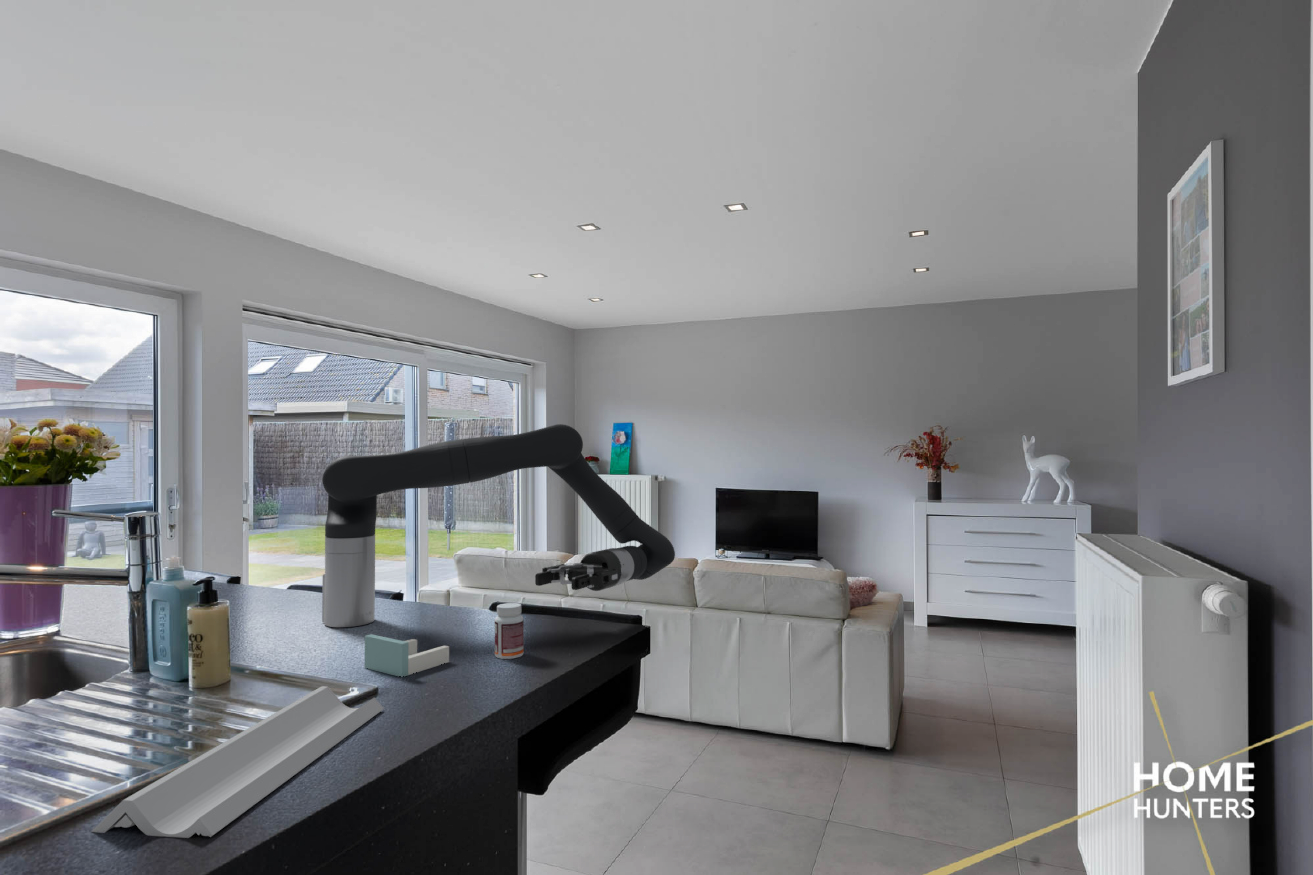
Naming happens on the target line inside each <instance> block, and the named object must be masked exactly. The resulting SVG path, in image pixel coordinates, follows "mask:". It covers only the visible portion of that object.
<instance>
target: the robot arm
mask: <svg viewBox="0 0 1313 875" xmlns="http://www.w3.org/2000/svg"><path fill="white" fill-rule="evenodd" d="M583 442H584V441H583V438H582V436H581V434H580V433H579V431H578V430H577V429H575V428H573V427H572V426H570V425H568V424H563V423H561V424H560V423H559V424H558V423H557V424H553V425H550V426H545V427H542V428H538V429H534V430H530V431H526V432H522V433H517V434H516V433H515V434H510V435H508V434H507V435H489V436H478V437H469V438H467V437H466V438H461V439H454V440H453V439H452V440H447V441H441V442H437V443H432V444H428V445H424V446H419V447H416V448H413V449H409V450H405V451H401V452H397V453H389V454H375V455H354V454H353V455H352V454H351V455H350V454H349V455H343V456H340V457H338V458H335V459H333V461H330V463H329V464H328V465H327V466H326V468H325V469H324V471H323V473H322V474H323V476H322V482H321V483H322V485H323V488H324V491H325V492H326V494H327V496H328V497H327V514H326V520H325V524H324V525H325V526H324V530H325V531H324V536H325V537H324V573H323V575H322V584H321V588H322V594H321V595H322V600H321V602H322V604H321V606H322V607H321V608H322V610H321V617H322V618H321V621H322V623H324V626H326V627H332V628H351V627H357V626H358V627H360V626H364V625H367V624H368V625H369V624H371V623H373V622H374V621H375V616H376V614H375V613H376V612H375V609H376V608H375V607H376V606H375V604H376V602H375V601H376V596H375V595H376V524H377V515H378V514H377V513H378V510H377V506H378V503H377V502H378V499H377V498H378V496H379V495H382V494H387V493H390V492H395V491H396V492H397V491H401V490H410V489H412V490H414V489H430V488H431V489H432V488H442V487H452V486H453V487H454V486H459V485H464V484H471V483H475V482H480V481H485V480H488V479H491V478H494V477H498V476H501V475H504V474H507V473H510V472H514V471H519V470H525V469H532V468H542V467H543V468H544V467H545V468H547V467H548V468H549V469H550V470H551V471H552V472H553V473H555V474H556V475H557V476H558V477H560V478H561V479H562V481H564V482H565V483H566V484H567V485H568V486H569V487H570V488H571V489H572V490H573V491H574V492H575V493H576V494H577V496H579V498H581V499H582V501H583V502H584V503H585V505H587V507H588V508H589V510H590V511H591V512H592V513H593V515H594V516H595V517H596V518H597V519H598V521H600V523H601V525H603V527H604V528H605V529H606V530H607V532H608V533H609V534H610V535H611V536H612V537H613V538H614V539H615V540H616V542H617V543H619V544H623V545H624V544H628V543H629V542H633V541H634V542H638V543H640V544H639V545H638V546H636V545H625V546H621V547H614V548H613V547H612V548H605V549H601V550H597V551H592V552H589V553H587V554H586V555H584V556H583V558H582V559H581V560H580V562H576V563H575V562H574V563H573V564H567V565H566V564H565V563H561V564H557V565H552V566H547V567H543V568H542V569H541V572H537V573H535V577H534V578H535V579H534V580H535V586H538V587H539V586H545V585H549V584H554V583H559V584H560V585H562V586H563V585H571V589H572V590H573V591H578V590H581V589H584V588H587V590H588V589H589V590H590V591H592V592H593V591H594V592H599V591H603V590H606V589H610V588H612V587H616V586H619V585H622V584H624V583H625V582H629V581H632V580H637V581H638V580H641V581H642V580H643V581H644V580H647V579H648V578H651V577H653V575H654V576H655V574H658V573H659V572H661V571H662V570H663V569H665V568H666V567H668V566H669V565H671V564H672V563H673V562H674V560H675V557H676V551H675V547H674V546H673V544H672V541H671V540H669V539H668V538H667V536H665V535H664V534H663V533H661V532H660V531H658V530H656V528H654V527H652V526H651V525H649V524H648V523H647V522H645V521H644V520H643V519H641V518H640V517H639V515H638V514H637V513H636V512H635V510H633V508H632V507H631V506H630V504H629V503H627V501H626V500H625V499H624V498H623V497H622V496H621V495H620V494H619V493H618V492H617V491H616V490H615V489H613V487H611V485H609V484H608V483H607V482H606V481H605V480H603V478H601V476H600V475H598V473H597V472H596V471H595V470H594V469H593V468H592V467H591V465H590V464H589V463H588V461H587V460H586V459H585V457H584V455H583V453H582V451H583V448H584V443H583ZM566 576H567V577H566ZM565 578H567V580H565Z"/></svg>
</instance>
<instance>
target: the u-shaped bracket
mask: <svg viewBox="0 0 1313 875" xmlns="http://www.w3.org/2000/svg"><path fill="white" fill-rule="evenodd" d="M444 663H445V664H447V663H450V646H448V645H442V646H438V647H435V648H430V649H428V650H424V651H420V652H418V639H415V638H411V639H407V640H400V639H396V638H395V639H394V638H391V637H386V636H381V635H377V634H376V635H375V634H366V635H364V669H367V668H368V670H372V671H376V672H381V673H384V674H388V675H391V676H395V677H399V676H401V677H400V678H404V677H406V676H410V675H414V674H416V672H417V673H419V672H424V671H425V670H429V669H432V668H435V667H438V666H441V664H442V665H444ZM413 673H414V674H413ZM403 676H404V677H403Z"/></svg>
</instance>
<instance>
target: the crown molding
mask: <svg viewBox="0 0 1313 875" xmlns="http://www.w3.org/2000/svg"><path fill="white" fill-rule="evenodd" d="M384 709H385V707H383V705H382V704H381V703H380V702H379V701H378V699H377V698H375V697H373V698H371V699H370V700H368V701H367V702H366V703H364V704H363V705H361V706H360V707H357V708H352V707H349V706H347V705H345V704H344V703H343V702H342V701H341V700H340V698H338V696H337V695H336V694H335V693H334V691H333V690H332V689H331V688H330V687H329V686H325V685H323V686H322V685H321V686H320V687H318V688H317V689H314V690H313V691H311V692H309V693H307V694H305V695H304V696H302V697H300V698H299V699H297V700H296V701H293V702H292V703H290V704H288V705H287V706H284V707H283V708H282V709H279V710H277V711H276V712H274V713H272V714H271V715H269V716H267V717H266V718H263V719H262V720H260V721H259V722H257V723H255V724H253V725H252V726H249V727H248V728H247V729H245V730H242V731H241V732H239V733H238V734H236V735H234V736H232V737H231V738H229V739H227V740H225V741H223V742H222V743H220V744H218V745H216V746H215V747H213V748H211V749H210V750H208V751H206V752H204V753H203V754H201V755H199V756H198V757H196V758H194V759H192V760H191V761H189V762H187V763H184V765H182V766H180V767H179V768H176V769H175V770H173V771H172V772H169V773H168V774H166V775H164V776H162V777H160V778H159V779H157V780H156V781H154V782H151V783H150V784H148V785H147V786H145V787H143V788H142V789H140V790H138V791H136V792H135V793H133V794H132V795H129V796H128V797H126V798H124V799H123V800H121V801H120V802H119V804H117V806H115V808H113V809H112V810H111V811H110V813H108V814H107V815H106V816H105V817H104V818H103V819H102V820H101V821H100V822H99V823H98V824H97V825H96V826H95V827H94V828H92V830H91V831H90V832H91V833H101V834H103V833H104V834H105V833H107V832H108V831H110V830H112V829H113V828H120V827H122V828H130V827H131V828H132V827H133V826H135V825H136V826H137V828H138V829H139V830H140V831H141V832H142V833H143V834H144V835H146V836H150V837H151V836H152V837H167V838H169V837H170V838H183V839H185V838H186V839H189V838H191V837H192V836H193V835H195V834H197V835H198V836H200V835H201V836H203V837H210V838H212V837H213V836H215V834H217V833H218V832H220V831H222V829H223V828H225V827H226V826H228V825H229V824H230V823H232V822H233V821H235V820H236V819H237V818H239V817H240V816H241V815H243V814H244V813H245V812H247V811H248V810H249V809H251V808H252V807H254V806H255V805H256V804H257V803H258V802H260V801H261V800H263V799H264V798H265V797H267V796H268V795H269V794H271V793H272V792H273V791H276V790H277V789H278V788H279V787H280V786H281V785H283V784H284V783H286V782H287V781H288V780H290V779H291V778H292V777H293V776H295V775H297V774H298V773H299V772H301V771H302V770H303V769H304V768H306V767H307V766H309V765H311V764H312V763H313V762H314V761H316V760H317V759H318V758H320V757H321V756H322V755H324V754H325V753H327V751H329V750H330V749H332V748H333V747H334V746H336V745H338V743H340V742H341V741H343V740H344V739H346V738H347V737H349V735H351V734H352V733H354V732H355V731H356V730H358V729H359V728H360V727H361V726H363V725H364V724H366V723H367V722H369V721H370V720H371V719H372V718H373V717H375V716H376V715H378V714H379V713H380V712H382V711H383V710H384Z"/></svg>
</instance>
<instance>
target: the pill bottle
mask: <svg viewBox="0 0 1313 875" xmlns="http://www.w3.org/2000/svg"><path fill="white" fill-rule="evenodd" d="M496 614H497V616H495V619H494V656H495V657H496V658H498V659H500V660H512V659H517V658H520V657H522V656H523V655H524V647H525V646H524V640H525V639H524V636H525V635H524V633H525V632H524V626H525V625H524V617H523V615H522V604H521V603H517V602H507V603H500V604H497V606H496Z"/></svg>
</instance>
